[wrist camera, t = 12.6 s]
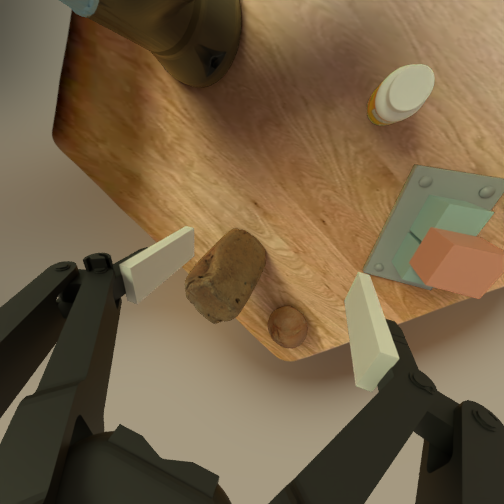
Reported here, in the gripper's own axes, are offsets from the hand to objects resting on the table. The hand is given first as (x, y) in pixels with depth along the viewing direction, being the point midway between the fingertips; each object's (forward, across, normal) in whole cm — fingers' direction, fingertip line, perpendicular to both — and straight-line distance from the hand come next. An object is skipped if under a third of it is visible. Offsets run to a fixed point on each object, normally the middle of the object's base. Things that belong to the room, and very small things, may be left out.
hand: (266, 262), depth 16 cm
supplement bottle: (+27, +9, +15) cm, 32 cm away
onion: (+27, +5, -30) cm, 41 cm away
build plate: (+27, +22, -2) cm, 35 cm away
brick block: (+20, +22, -2) cm, 29 cm away
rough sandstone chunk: (+27, -9, -14) cm, 32 cm away
